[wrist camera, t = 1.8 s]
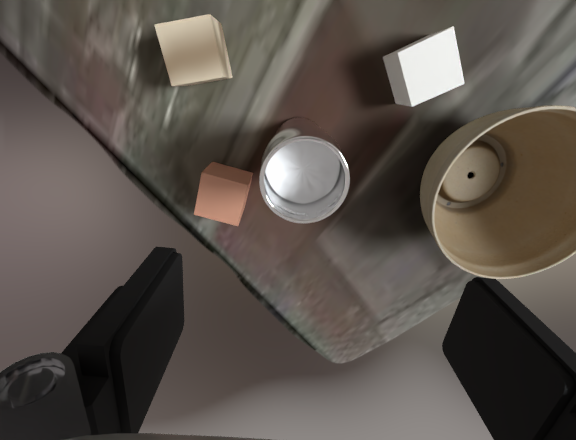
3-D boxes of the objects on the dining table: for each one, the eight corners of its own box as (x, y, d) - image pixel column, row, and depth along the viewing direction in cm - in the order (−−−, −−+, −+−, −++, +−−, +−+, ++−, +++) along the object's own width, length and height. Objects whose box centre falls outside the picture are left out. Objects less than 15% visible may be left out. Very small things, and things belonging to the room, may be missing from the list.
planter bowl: (481, 65, 33) (566, 57, 23) (559, 166, 37) (659, 197, 27) (367, 175, 37) (395, 208, 27) (448, 253, 42) (497, 306, 32)
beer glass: (279, 180, 38) (274, 236, 24) (260, 124, 35) (241, 150, 21) (335, 163, 37) (362, 211, 23) (319, 104, 34) (340, 118, 20)
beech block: (174, 33, 32) (154, 24, 27) (221, 24, 31) (209, 14, 27) (187, 85, 34) (171, 86, 29) (232, 78, 33) (223, 77, 29)
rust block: (212, 161, 37) (201, 172, 32) (253, 172, 37) (247, 185, 33) (205, 199, 39) (193, 214, 34) (243, 209, 39) (237, 226, 35)
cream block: (382, 57, 32) (397, 52, 28) (429, 34, 31) (453, 26, 27) (395, 103, 34) (412, 106, 30) (440, 83, 33) (464, 83, 29)
